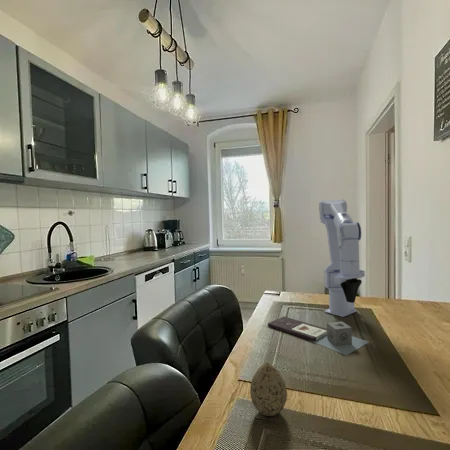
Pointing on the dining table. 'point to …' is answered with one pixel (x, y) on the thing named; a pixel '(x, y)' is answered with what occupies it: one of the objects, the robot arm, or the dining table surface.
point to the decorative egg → (268, 390)
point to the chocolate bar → (298, 328)
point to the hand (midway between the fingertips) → (350, 301)
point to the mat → (341, 349)
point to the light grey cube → (339, 333)
